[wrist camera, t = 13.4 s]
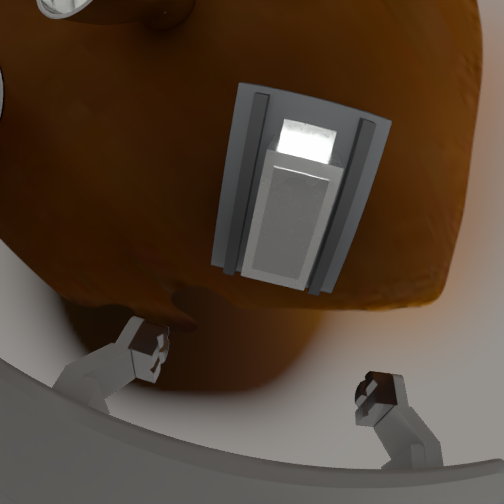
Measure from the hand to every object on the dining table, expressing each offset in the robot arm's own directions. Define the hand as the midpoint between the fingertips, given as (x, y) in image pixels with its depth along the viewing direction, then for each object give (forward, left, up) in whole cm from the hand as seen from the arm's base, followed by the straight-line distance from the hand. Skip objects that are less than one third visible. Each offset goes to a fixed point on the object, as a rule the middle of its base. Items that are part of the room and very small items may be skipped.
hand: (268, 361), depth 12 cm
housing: (0, 0, -17) cm, 17 cm away
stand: (0, 0, -23) cm, 23 cm away
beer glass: (-16, +16, -23) cm, 32 cm away
